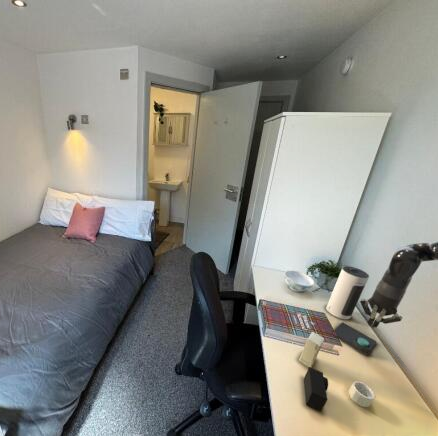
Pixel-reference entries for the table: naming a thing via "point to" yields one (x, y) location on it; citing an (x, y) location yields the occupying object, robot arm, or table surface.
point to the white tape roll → (361, 394)
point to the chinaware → (298, 281)
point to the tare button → (363, 342)
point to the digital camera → (315, 389)
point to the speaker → (347, 292)
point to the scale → (354, 338)
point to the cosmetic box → (311, 349)
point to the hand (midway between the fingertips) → (371, 325)
